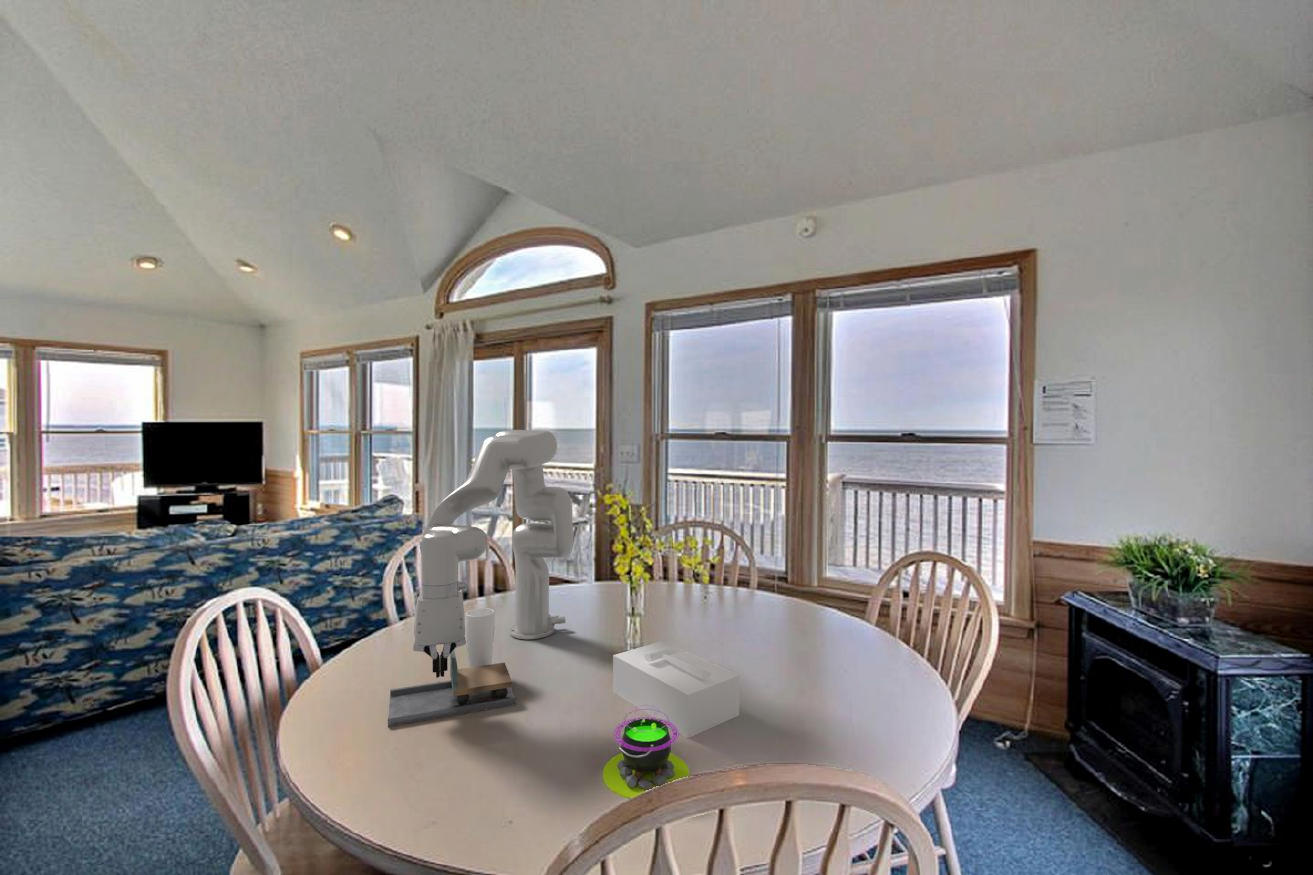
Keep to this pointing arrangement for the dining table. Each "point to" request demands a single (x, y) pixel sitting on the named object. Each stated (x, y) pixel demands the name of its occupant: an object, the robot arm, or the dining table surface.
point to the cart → (478, 680)
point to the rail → (438, 702)
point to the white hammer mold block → (676, 687)
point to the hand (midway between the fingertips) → (440, 674)
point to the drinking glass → (479, 636)
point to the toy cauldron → (643, 757)
